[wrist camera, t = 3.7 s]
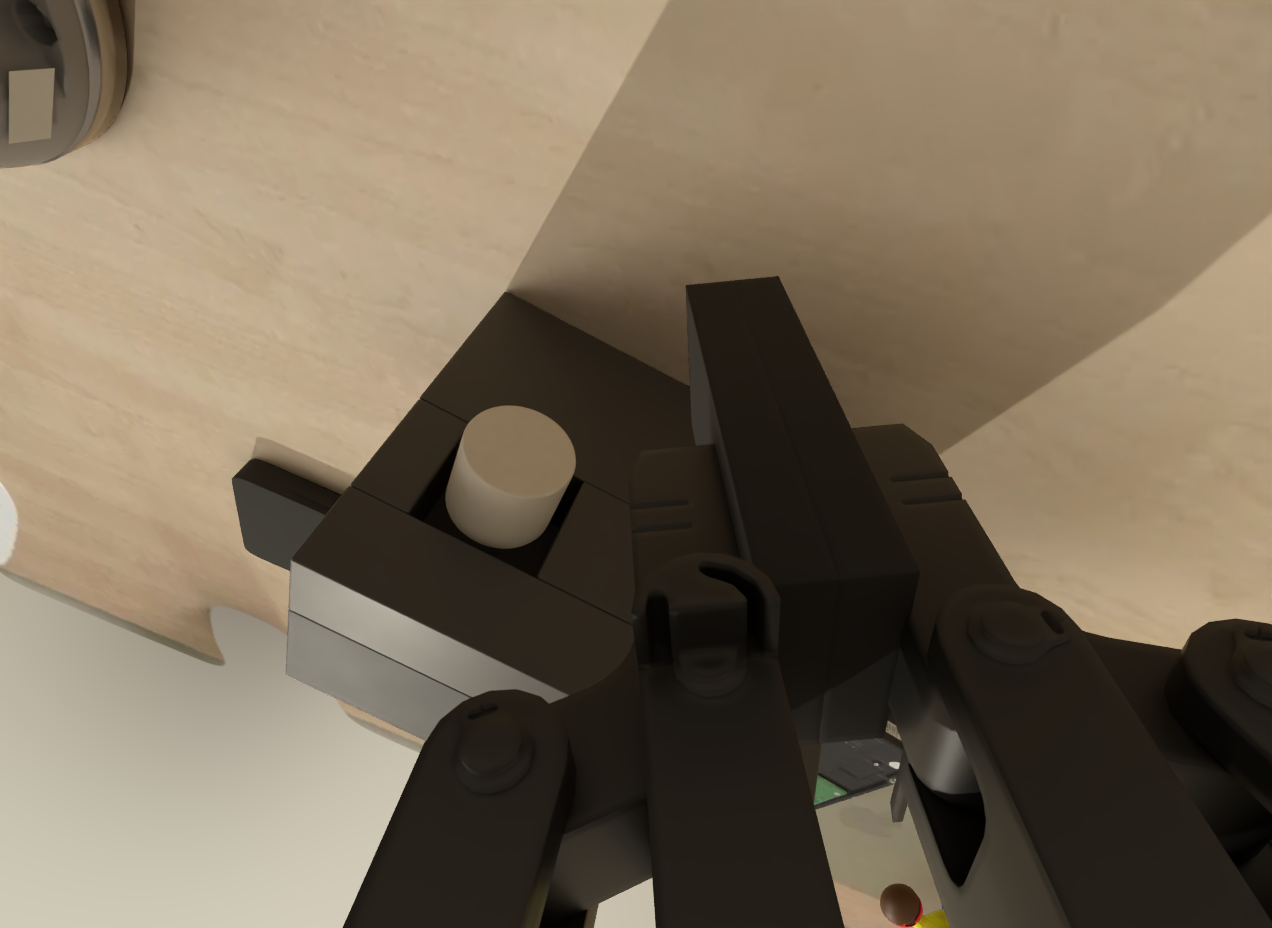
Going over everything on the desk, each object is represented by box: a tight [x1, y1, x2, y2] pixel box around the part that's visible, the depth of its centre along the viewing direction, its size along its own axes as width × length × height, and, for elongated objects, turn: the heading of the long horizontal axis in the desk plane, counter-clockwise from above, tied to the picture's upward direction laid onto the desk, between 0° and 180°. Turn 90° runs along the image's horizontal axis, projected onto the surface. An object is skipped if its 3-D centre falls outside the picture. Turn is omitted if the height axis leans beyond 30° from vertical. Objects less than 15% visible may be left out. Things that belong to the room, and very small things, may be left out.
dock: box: [286, 292, 822, 803], centre depth 28 cm, size 8×16×14 cm, turn 69°
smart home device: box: [232, 460, 341, 571], centre depth 45 cm, size 8×2×20 cm
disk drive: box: [814, 710, 904, 810], centre depth 45 cm, size 10×3×15 cm
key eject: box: [445, 406, 576, 549], centre depth 23 cm, size 3×3×3 cm
